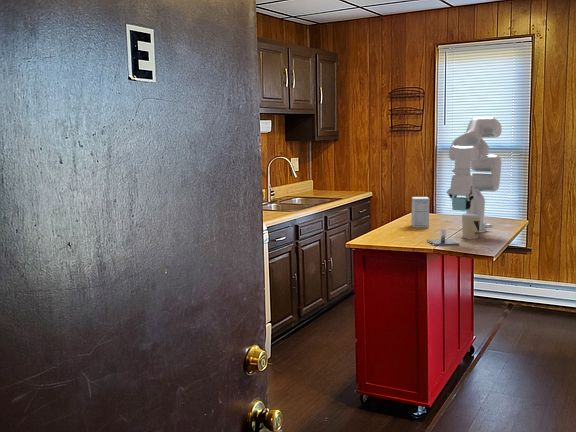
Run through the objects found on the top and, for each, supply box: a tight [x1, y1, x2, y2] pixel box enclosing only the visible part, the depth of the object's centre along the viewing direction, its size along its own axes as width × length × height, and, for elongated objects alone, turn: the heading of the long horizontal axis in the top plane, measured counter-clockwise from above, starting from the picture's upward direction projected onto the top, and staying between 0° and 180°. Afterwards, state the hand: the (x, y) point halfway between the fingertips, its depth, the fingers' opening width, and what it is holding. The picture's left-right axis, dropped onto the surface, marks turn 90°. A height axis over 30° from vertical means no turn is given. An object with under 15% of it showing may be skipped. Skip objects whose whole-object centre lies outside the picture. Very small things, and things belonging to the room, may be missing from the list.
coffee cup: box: [461, 212, 481, 240], centre depth 312 cm, size 9×9×12 cm
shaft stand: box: [426, 228, 460, 247], centre depth 295 cm, size 12×12×7 cm
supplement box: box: [410, 196, 430, 228], centre depth 349 cm, size 10×9×17 cm
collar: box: [451, 196, 470, 212], centre depth 301 cm, size 6×6×6 cm
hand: (461, 207), depth 301 cm, fingers closed on collar, 6 cm apart
